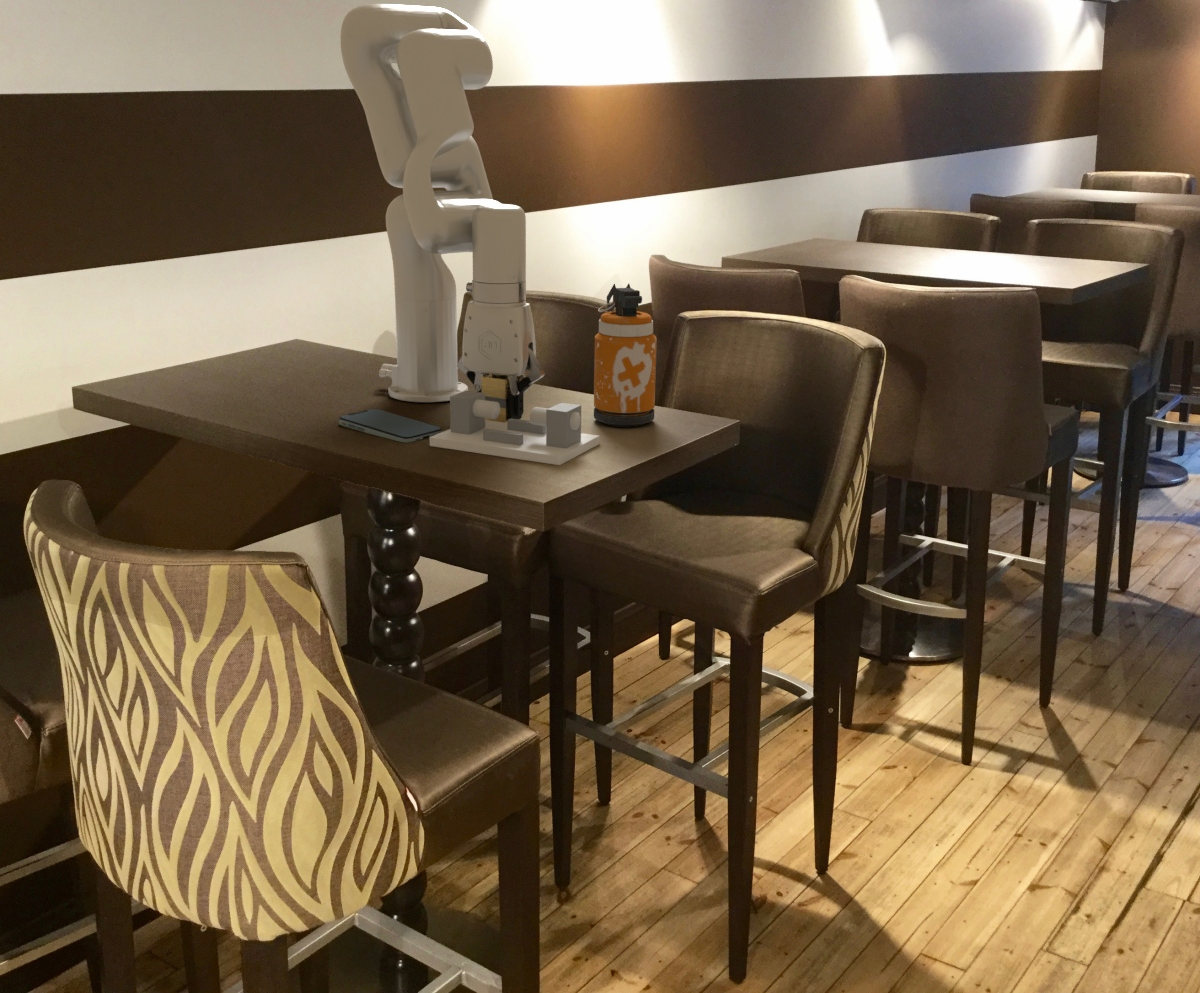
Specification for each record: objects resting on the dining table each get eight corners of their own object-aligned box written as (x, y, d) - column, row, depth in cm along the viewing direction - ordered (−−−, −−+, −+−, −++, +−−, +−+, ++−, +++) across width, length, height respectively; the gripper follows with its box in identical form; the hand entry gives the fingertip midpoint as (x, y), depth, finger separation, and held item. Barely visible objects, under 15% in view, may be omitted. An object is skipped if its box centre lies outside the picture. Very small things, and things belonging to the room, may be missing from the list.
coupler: (481, 423, 186) (481, 371, 184) (495, 417, 190) (495, 366, 188) (505, 427, 185) (505, 374, 182) (519, 421, 188) (519, 369, 186)
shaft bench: (429, 445, 174) (428, 401, 173) (474, 426, 185) (474, 384, 183) (559, 465, 166) (559, 419, 164) (599, 444, 177) (600, 400, 175)
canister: (602, 430, 184) (605, 291, 178) (583, 412, 194) (584, 280, 188) (661, 427, 186) (666, 290, 180) (639, 409, 196) (643, 279, 190)
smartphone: (405, 438, 175) (335, 416, 184) (405, 449, 176) (335, 427, 185) (445, 427, 181) (375, 407, 190) (445, 439, 181) (375, 418, 190)
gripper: (435, 292, 182) (438, 416, 187) (539, 301, 175) (538, 430, 181) (462, 285, 188) (464, 406, 194) (563, 294, 181) (563, 419, 187)
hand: (500, 416), depth 187 cm, fingers closed on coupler, 4 cm apart
